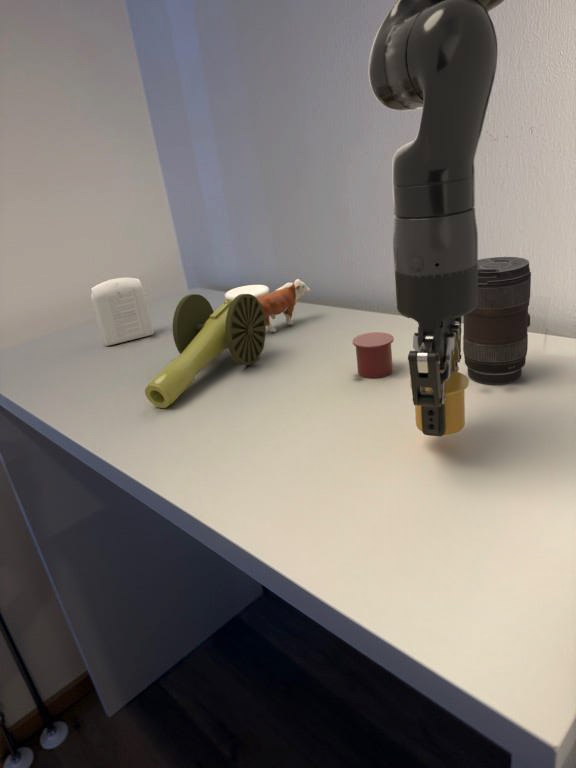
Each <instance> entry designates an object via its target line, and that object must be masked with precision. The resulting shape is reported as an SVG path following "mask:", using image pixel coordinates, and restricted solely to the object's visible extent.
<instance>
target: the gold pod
mask: <svg viewBox="0 0 576 768" xmlns="http://www.w3.org/2000/svg"><path fill="white" fill-rule="evenodd" d="M442 371H443V370H440V372H442ZM469 384H470V383H469V377H467V376H466V374H463V373H462V372H459V371H457V372H456V371H452V377H451V379H449V380H448V381H447V382H446V401H445V423H446V430H445V433H444V435H443V436H449V435H455V434H457V433H458V432H460V431H461V430H463V429H464V427H465V424H466V406H465V404H466V401H465V400H466V399H465V391H466V389H467V388H468V387H469ZM409 386H410V389H411V390H412V386H411V379H410V381H409ZM426 391H433V389H432V388H426ZM414 411H415V412H414V413H415V425H416V428H417V429H418V430H419V431H421V432H422V415H421V406H418V405H414Z"/></svg>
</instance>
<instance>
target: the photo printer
mask: <svg viewBox="0 0 576 768" xmlns="http://www.w3.org/2000/svg"><path fill="white" fill-rule="evenodd" d="M90 292H91V293H90V300H91V304H92V307H93V310H94V314H95V318H96V322H97V325H98V329H99V332H100V336H101V340H102V343H103V345H104V346H107V347H109V346H113V345H116V344H121V343H125V342H128V341H132V340H133V341H134V340H137V339H141V338H145V337H149V336H153V335H154V334H155V331H154V327H153V322H152V318H151V314H150V310H149V306H148V301H147V297H146V296H147V295H146V293H145V289H144V286H143V284H142V283H141V280H140V279H139V278H136V277H116V278H111V279H108V280H105V281H102V282H101V283H98V284H96V285H95V286H93V287H91V288H90Z"/></svg>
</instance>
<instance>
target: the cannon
mask: <svg viewBox="0 0 576 768" xmlns="http://www.w3.org/2000/svg"><path fill="white" fill-rule="evenodd" d="M266 333H267V326H266V324H265V317H264V312H263V309H262V306H261V304H260V302H259V301H258V300H257V298H256V297H254V296H253V295H251V294H240V295H238V296H237V297H235V298H234V300H233V301H232V300H229V299H227V300H226V299H225V300H224V302H223V303H222V304H221V305H220V306H219V307H218V308H217V309H215V310H214V309H213V307H212V305H211V303H210V301H209V300H208V299H207V298H206V297H205V296H203V295H201V294H197V293H196V294H195V293H194V294H193V293H192V294H187V295H185V296H184V297H182V298H181V299H180V301H179V302H178V304H177V305H176V307H175V310H174V313H173V318H172V336H173V342H174V344H175V347H176V350H177V351H178V353H179V355H178V356H177V357H176V358H173V359H172V360H171V361H170V362H169V363H168V364H167V365H166V366H165V367H164V368H163V369H161V371H160V372H158V373H157V374H156V376H154V377H153V378H152V379H151V380H150V381H149V382H148V383H147V386H146V387H145V389H144V391H145V392H144V394H145V397H146V398H147V400H148V401H149V402H150V403H151V404H152V405H153V406H155V407H157V408H160V409H167V408H168V407H169V406H171V405H172V404H173V403H174V402H175V401H176V400H178V398H179V397H180V396H181V394H183V393H184V391H186V389H187V388H188V387H189V386H190V385H191V384H192V383H193V382H194V380H195V378H196V377H197V375H198V374H199V373H200V372H202V371H203V370H204V369H205V368H206V367H207V366H208V365H209V364H210V363H212V361H213V360H215V359H216V358H217V357H218V356H219V355H220V354H221V353H222V352H224V351H225V350H227V349H228V352H229V354H230V356H231V358H232V359H233V360H234V361H235V363H237V364H238V365H241V366H252V365H253V364H255V363H256V362H257V361H258V360H259V359H260V357H261V354H262V352H263V350H264V346H265V342H266Z"/></svg>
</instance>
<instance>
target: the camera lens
mask: <svg viewBox="0 0 576 768" xmlns="http://www.w3.org/2000/svg"><path fill="white" fill-rule="evenodd" d="M531 284H532V272H531V269H530V261H529V260H528V259H526V258H524V257H517V256H497V257H496V256H495V257H486V258H480V259H478V304H477V306H476V308H475V309H474V310H473V311H472V312H470V313H469V314H466V315H464V316H462V317H463V336H462V352H463V358H464V365H465V366H466V367H467V375H468V378H470V379H471V380H472V381H474V382H478V383H480V384H485V385H506V384H511V383H514V382H516V381H518V380H520V378H521V376H522V368H524V366H525V365H526V360H527V353H528V345H529V344H528V343H529V335H528V328H529V327H530V326H531V315H530V313H529V306H530V301H531V300H530V299H531V286H532V285H531Z"/></svg>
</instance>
